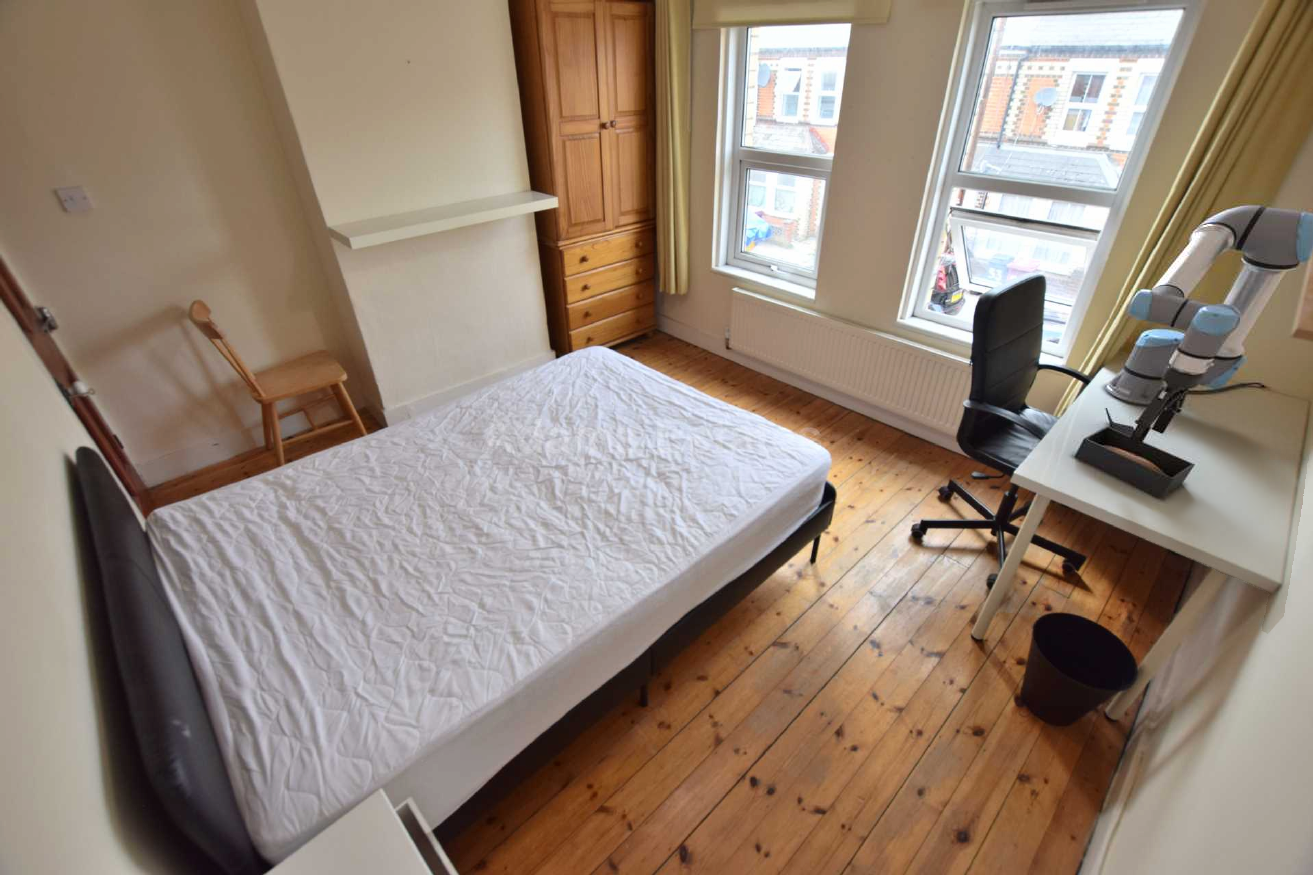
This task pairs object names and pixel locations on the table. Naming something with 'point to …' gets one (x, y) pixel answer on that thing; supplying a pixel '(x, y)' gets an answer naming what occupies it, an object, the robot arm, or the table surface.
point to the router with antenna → (1120, 426)
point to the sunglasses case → (1135, 458)
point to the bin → (1134, 462)
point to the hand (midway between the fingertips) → (1145, 438)
